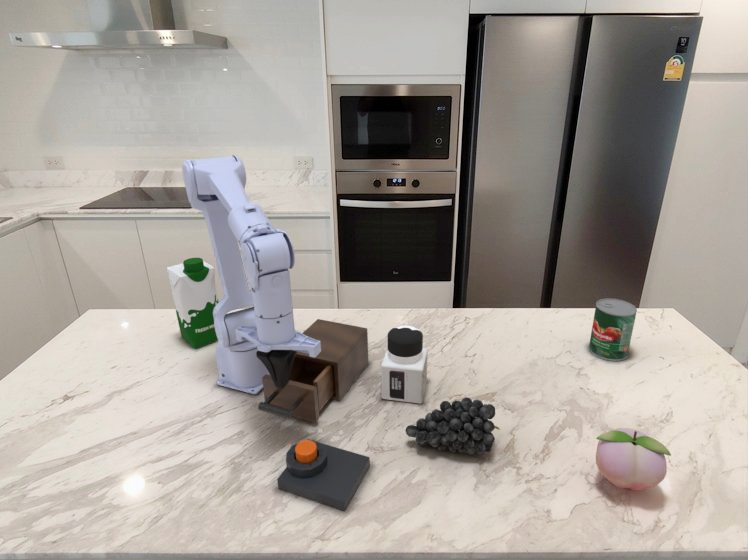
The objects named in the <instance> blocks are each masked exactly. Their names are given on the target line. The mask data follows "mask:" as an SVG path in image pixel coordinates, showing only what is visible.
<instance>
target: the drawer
mask: <svg viewBox="0 0 748 560" xmlns="http://www.w3.org/2000/svg"><path fill="white" fill-rule="evenodd" d="M262 382H263V389H262V390H263V396H264V401H260V402H259V403H258V405H257V409H258V411H261V412H263V413H268V414H271V415H276V416H278V417H282V418H285V419H291V418H292V417H294V418H297V419H301V420H305V421H308V422H312V423H317V422H318V421H319V420H320V412H321V411H322V409H323V408H324V407H325V406H326V404H327V403H328V402H329V401H330V400H331V399H330V398H331V397H332V395H333V394H334V393H335V392H336V391H335V375H334V365H330V364H325V363H321V362H317V361H312V360H308V359H303V358H299V357H295V358H294V360H293V363H292V367H291V371H290V377H289V383H288V384H287V385H286V386H285V387H284V388H278V387H276V386H275V384H274V382H273V380H272V378H271V375H267V374H266V375H264V376H263V377H262Z"/></svg>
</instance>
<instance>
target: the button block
mask: <svg viewBox="0 0 748 560" xmlns="http://www.w3.org/2000/svg"><path fill="white" fill-rule="evenodd" d="M307 440H311V441H313V442H315V444H316V446H317V458H316V460H315V461H313V462H311V463H308V464H302V463H299V462H298V461H297V460H296V452H295V447H296V445H297V444H298V443H299V442H297V443H295V444H292V445H291V446H290V448H289V449H288V450H287V452H286V454H285V463H286V467H285V468H284V470H282V473H281V474H280V475H279V476H278V477H277V479H276V481H277V488H278V490H282V491H283V492H287V493H290V494H293V495H296V496H298V497H302V498H305V499H307V500H310V501H313V502H317V503H319V504H322V505H326V506H329V507H331V508H334V509H337V510H340V511H342V512H346V510H347V508H348V506H349V504H350V503H351V500H352V499H353V497H354V495H355V493H356V492H357V490H358V488H359V486H360V485H361V483H362V481H363V479H364V477H365V476H366V475H367V472H368V470H369V469H370V466H371V464H370V462H371V461H370V456H366V455H365V454H359V453H356V452H354V451H349V450H347V449H343V448H339V447H337V446H333V445H329V444H325V443H322V442H320V441H316V440H312V439H307Z"/></svg>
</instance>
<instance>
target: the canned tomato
mask: <svg viewBox="0 0 748 560" xmlns="http://www.w3.org/2000/svg"><path fill="white" fill-rule="evenodd" d="M637 313H638V308H637V307H636V306H635V305H634V304H632V303H630V302H628V301H627V300H622V299H618V298H608V297H607V298H601V299H598V300H597V301H596V303H595V309H594V315H593V320H592V327H591V332H590V338H589V345H588V350H589V352H590V353H591V354H592V355H594V356H595V357H597V358H598V359H599V358H600V359H602V360H605V361H610V362H622V361H624V360H626V359H627V358H628V356H629V350H630V345H631V341H632V336H633V331H634V326H635V322H636V316H637Z"/></svg>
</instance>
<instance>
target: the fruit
mask: <svg viewBox="0 0 748 560" xmlns="http://www.w3.org/2000/svg"><path fill="white" fill-rule="evenodd" d="M495 416H496V407H495V406H494V405H493V404H492V403H491V404H490V403H488V404H487V403H483V401H482V400H479V399H474V400H472V399H471V398H470V397H463V398H462V399H461V401H460V400H454V401H452V402H449V400H443V401H442V402H441V403H440V404H439V409H437V408H435V409H433V410H432V411H431V412H427V413H426V415H425V417H424V418H419V419H417V421H416V424H415V425H413V424H410V425H407V426H406V428H405V434H406V435H407V437H410V438H415V443H416V445H418V446H419V447H421V448H422V447H425V446H426V445H430V447H433V448H437V449H438V451H440V452H446V451H447V449H449V451H450V452H452V453H455V452H457V451H458V452H459V453H461V454H468V455H470V456H471V455H474V454H475V453H477V454H479V455H481V454H484V453H490V452H492V450H493V446H494V443H495V439H496V438H495V436H494V434H493V433H492V432H494V430H495V429H496V430H499V431H500V430H501V429H500V427H499V426H497V425H495V424H494V422H493V421H492V420H493V418H495Z"/></svg>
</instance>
